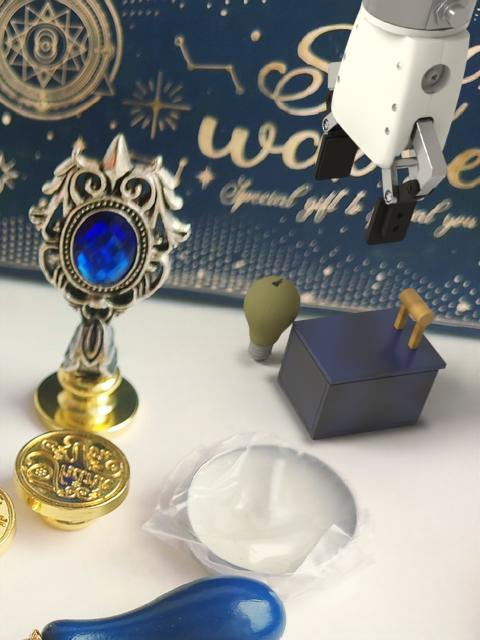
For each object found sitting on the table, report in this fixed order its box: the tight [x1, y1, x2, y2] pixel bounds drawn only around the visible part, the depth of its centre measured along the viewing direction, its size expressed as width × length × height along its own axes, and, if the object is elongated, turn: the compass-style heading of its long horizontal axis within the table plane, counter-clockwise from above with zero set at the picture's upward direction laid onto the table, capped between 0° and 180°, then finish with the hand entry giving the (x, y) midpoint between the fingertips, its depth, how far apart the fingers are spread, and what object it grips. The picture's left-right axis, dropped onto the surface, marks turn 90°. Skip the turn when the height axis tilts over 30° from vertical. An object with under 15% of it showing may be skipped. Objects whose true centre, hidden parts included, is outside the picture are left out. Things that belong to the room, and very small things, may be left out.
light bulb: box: [243, 275, 301, 362], centre depth 112 cm, size 6×6×10 cm
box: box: [276, 326, 440, 440], centre depth 108 cm, size 11×9×7 cm
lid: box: [291, 287, 448, 385], centre depth 104 cm, size 12×9×5 cm
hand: (356, 208), depth 89 cm, fingers open, 9 cm apart
